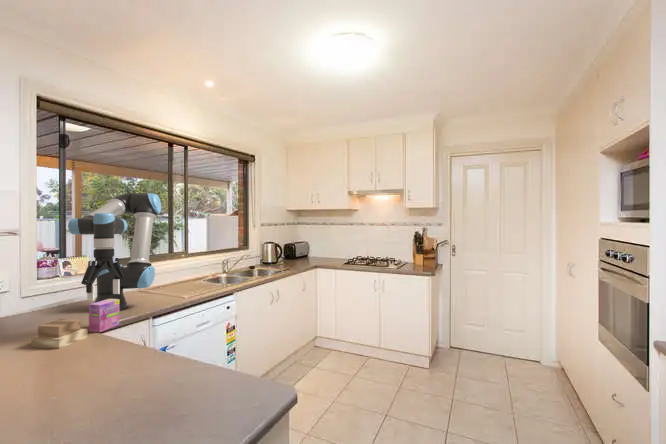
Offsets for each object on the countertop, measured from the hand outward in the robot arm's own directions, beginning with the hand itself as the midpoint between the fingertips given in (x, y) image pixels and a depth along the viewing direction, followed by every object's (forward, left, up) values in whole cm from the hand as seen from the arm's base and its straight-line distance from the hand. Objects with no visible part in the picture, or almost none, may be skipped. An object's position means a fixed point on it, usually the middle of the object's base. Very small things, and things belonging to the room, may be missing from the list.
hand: (104, 297), depth 146 cm
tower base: (+17, -4, -14) cm, 22 cm away
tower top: (+17, -4, -10) cm, 20 cm away
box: (0, 0, -14) cm, 14 cm away
